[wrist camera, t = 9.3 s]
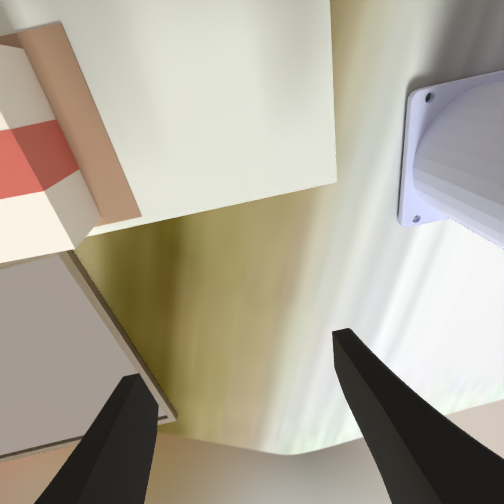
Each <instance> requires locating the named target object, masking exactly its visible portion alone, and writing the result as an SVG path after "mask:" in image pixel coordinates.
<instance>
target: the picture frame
mask: <svg viewBox="0 0 504 504" xmlns="http://www.w3.org/2000/svg"><path fill="white" fill-rule="evenodd" d="M137 373H140V375H141V377H142V378H143V380H144V382H145V383H146V385H147V387H148V388H149V390H150V392H151V393H152V395H153V397H154V398H155V400H156V402H157V403H158V405H159V410H158V425H160V424H164V423H169V422H173V421H177V413H176V412H175V410H174V409H173V407H172V405H171V404H170V402H169V401H168V399H167V398H166V396H165V394H164V393H163V391H162V390H161V388H160V387H159V385H158V384H157V382H156V380H155V379H154V377H153V376H152V374H151V373H150V371H149V369H148V368H147V366H146V365H145V363H144V362H143V360H142V359H141V357H140V355H139V354H138V352H137V351H136V349H135V348H134V346H133V344H132V343H131V341H130V340H129V338H128V337H127V335H126V334H125V332H124V330H123V329H122V327H121V326H120V324H119V323H118V321H117V319H116V318H115V316H114V315H113V313H112V312H111V310H110V309H109V307H108V305H107V304H106V302H105V301H104V299H103V298H102V296H101V294H100V293H99V291H98V290H97V288H96V287H95V285H94V284H93V282H92V280H91V279H90V277H89V276H88V274H87V273H86V271H85V269H84V268H83V266H82V265H81V263H80V262H79V260H78V259H77V257H76V255H75V254H74V252H73V251H72V250H67V251H62V252H56V253H51V254H46V255H41V256H35V257H30V258H25V259H20V260H14V261H9V262H4V263H0V463H2V462H7V461H11V460H15V459H19V458H23V457H27V456H32V455H36V454H40V453H44V452H48V451H52V450H56V449H60V448H65V447H69V446H73V445H77V444H79V442H80V441H81V439H82V438H83V436H84V435H85V433H86V432H87V430H88V429H89V427H90V426H91V424H92V423H93V421H94V420H95V418H96V417H97V415H98V414H99V412H100V411H101V409H102V408H103V406H104V405H105V403H106V402H107V400H108V398H109V397H110V395H111V394H112V392H113V391H114V389H115V388H116V386H117V385H118V383H119V382H120V380H121V379H122V377H123V376H127V375H132V374H137Z"/></svg>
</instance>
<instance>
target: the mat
mask: <svg viewBox="0 0 504 504" xmlns="http://www.w3.org/2000/svg"><path fill="white" fill-rule="evenodd" d="M0 45H5V46H11V47H16V48H22V49H24V50H25V53H26V55H27V57H28V59H29V61H30V63H31V66H32V68H33V70H34V72H35V74H36V76H37V79H38V81H39V83H40V85H41V87H42V89H43V92H44V94H45V96H46V98H47V100H48V102H49V105H50V107H51V109H52V111H53V113H54V115H55V118H56V119H57V120H58V123H59V125H60V127H61V129H62V131H63V133H64V136H65V138H66V140H67V142H68V144H69V146H70V149H71V151H72V153H73V155H74V157H75V159H76V162H77V164H78V166H79V168H80V172H81V174H82V176H83V178H84V180H85V182H86V185H87V187H88V189H89V191H90V193H91V195H92V198H93V200H94V202H95V204H96V206H97V208H98V211H99V213H100V215H101V217H102V219H101V220H100V221H99V222H98V223H97V224H96V225H95V227H94V228H93V229H92V230H91V231H90V232H89V234H88V235H87V236H92V235H96V234H101V233H106V232H110V231H115V230H119V229H124V228H129V227H133V226H138V225H142V224H147V223H152V222H156V221H161V220H165V219H170V218H175V217H179V216H184V215H188V214H193V213H197V212H202V211H207V210H211V209H216V208H220V207H225V206H230V205H234V204H239V203H243V202H248V201H253V200H257V199H262V198H266V197H271V196H276V195H280V194H285V193H289V192H294V191H299V190H303V189H308V188H312V187H317V186H322V185H326V184H331V183H335V182H337V173H336V148H335V122H334V96H333V71H332V45H331V19H330V0H0ZM87 236H86V237H87Z"/></svg>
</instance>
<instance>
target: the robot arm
mask: <svg viewBox="0 0 504 504" xmlns="http://www.w3.org/2000/svg"><path fill="white" fill-rule="evenodd" d="M428 93H430V99H429V100H428V102H426V101H425V98H426V95H427V94H428ZM415 216H417V217H416V219H415V220H413V218H414V217H415ZM449 218H450V219H452V220H453V221H455V222H457V223H459V224H460V225H462V226H464V227H466V228H467V229H469V230H471V231H472V232H474V233H476V234H478V235H479V236H481V237H483V238H485V239H486V240H488V241H490V242H492V243H493V244H495V245H497V246H498V247H500V248H502V249H504V70H501V71H496V72H492V73H487V74H483V75H478V76H474V77H469V78H464V79H460V80H455V81H451V82H446V83H442V84H437V85H432V86H428V87H423V88H419V89H416V90H414V91H413V92H412V93H411V94H410V96H409V97H408V102H407V115H406V127H405V140H404V153H403V166H402V179H401V192H400V205H399V218H398V222H399V224H400V225H401V226H402V227H405V228H406V227H412V226H417V225H421V224H426V223H431V222H435V221H440V220H445V219H449ZM332 336H333V352H334V367H335V371H336V373H337V376H338V379H339V382H340V385H341V388H342V390H343V393H344V396H345V398H346V400H347V402H348V405H349V407H350V409H351V411H352V413H353V415H354V417H355V419H356V422H357V424H358V426H359V428H360V430H361V432H362V434H363V436H364V438H365V441H366V443H367V445H368V447H369V449H370V451H371V453H372V456H373V458H374V460H375V462H376V464H377V466H378V469H379V471H380V473H381V476H382V478H383V481H384V483H385V486H386V489H387V492H388V494H389V497H390V499H391V502H392V504H504V459H503V458H502V457H500V456H499V455H497V454H496V453H494V452H493V451H491V450H490V449H488V448H487V447H485V446H484V445H482V444H481V443H480V442H478V441H477V440H475V439H474V438H473V437H471V436H470V435H469V434H467V433H466V432H464V431H463V430H462V429H460V428H459V427H458V426H456V425H455V424H454V423H452V422H451V421H450V420H448V419H447V418H446V417H445V416H443V415H442V414H441V413H440V412H438V411H437V410H436V409H435V408H433V407H432V406H431V405H430V404H428V403H427V402H426V401H425V400H424V399H422V398H421V397H420V396H419V395H418V394H417V393H415V392H414V391H413V390H412V389H411V388H410V387H409V386H407V385H406V384H405V383H404V382H403V381H402V380H401V379H400V378H399V377H398V376H396V375H395V374H394V373H393V372H392V371H391V370H390V369H389V368H388V367H387V366H386V365H385V364H384V363H383V362H382V361H381V360H380V359H379V358H378V357H377V356H376V355H375V354H374V353H373V352H372V351H371V350H370V349H369V348H368V347H367V346H366V345H365V344H364V343H363V342H362V341H361V340H360V339H359V338H358V336H357V335H356V334H355V333H354V332H353V331H352V330H351V329H349V328H346V329H342V330H337V331H332ZM158 410H159V405H158V403H157V402H156V400H155V398H154V397H153V395H152V393H151V392H150V390H149V388H148V387H147V385H146V383H145V382H144V380H143V378H142V377H141V375H140V373H137V374H132V375H127V376H123V377H122V379H121V380H120V382H119V383H118V385H117V386H116V388H115V389H114V391H113V392H112V394H111V395H110V397H109V398H108V400H107V402H106V403H105V405H104V406H103V408H102V409H101V411H100V412H99V414H98V415H97V417H96V418H95V420H94V421H93V423H92V424H91V426H90V427H89V429H88V430H87V432H86V433H85V435H84V436H83V438H82V439H81V441H80V442H79V444H78V445H77V447H76V448H75V449H74V451H73V452H72V454H71V455H70V456H69V458H68V459H67V461H66V462H65V463H64V465H63V466H62V467H61V469H60V470H59V472H58V473H57V475H56V476H55V477H54V478H53V480H52V481H51V482H50V484H49V485H48V487H47V488H46V489H45V490H44V492H43V493H42V494H41V496H40V497H39V498H38V499H37V501H36V502H35V503H34V504H144V500H145V495H146V489H147V485H148V480H149V474H150V469H151V464H152V458H153V453H154V448H155V442H156V435H157V425H158Z"/></svg>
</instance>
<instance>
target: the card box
mask: <svg viewBox="0 0 504 504" xmlns="http://www.w3.org/2000/svg"><path fill="white" fill-rule="evenodd" d="M101 219H102V217H101V215H100V213H99V211H98V208H97V206H96V204H95V202H94V200H93V198H92V195H91V193H90V191H89V189H88V187H87V185H86V182H85V180H84V178H83V176H82V174H81V172H80V168H79V166H78V164H77V162H76V159H75V157H74V155H73V153H72V151H71V149H70V146H69V144H68V142H67V140H66V138H65V136H64V133H63V131H62V129H61V127H60V125H59V123H58V120H57V119H56V118H55V115H54V113H53V111H52V109H51V107H50V105H49V102H48V100H47V98H46V96H45V94H44V92H43V89H42V87H41V85H40V83H39V81H38V79H37V76H36V74H35V72H34V70H33V68H32V66H31V63H30V61H29V59H28V57H27V55H26V53H25V50H24V49H22V48H16V47H11V46H5V45H0V263H4V262H9V261H14V260H20V259H25V258H30V257H35V256H41V255H46V254H51V253H56V252H62V251H67V250H72V249H76V248H77V246H78V245H79V244H80V243H81V242H82V241H83V239H84V238H85V237H86V236H87V235H88V234H89V232H90V231H91V230H92V229H93V228H94V227H95V225H96V224H97V223H98V222H99V221H100V220H101Z"/></svg>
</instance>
